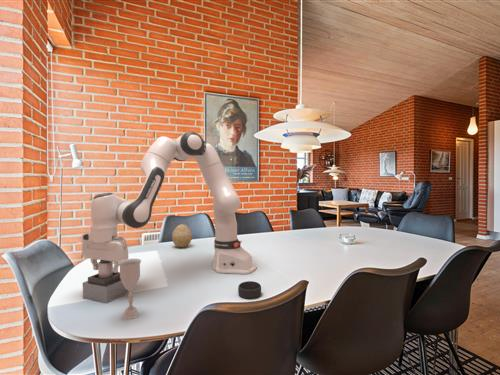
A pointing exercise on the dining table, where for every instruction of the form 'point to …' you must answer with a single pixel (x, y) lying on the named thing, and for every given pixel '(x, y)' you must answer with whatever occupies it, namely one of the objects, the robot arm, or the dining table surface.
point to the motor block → (103, 288)
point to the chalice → (130, 282)
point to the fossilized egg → (182, 236)
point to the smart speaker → (249, 290)
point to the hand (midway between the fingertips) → (105, 270)
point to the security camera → (105, 269)
